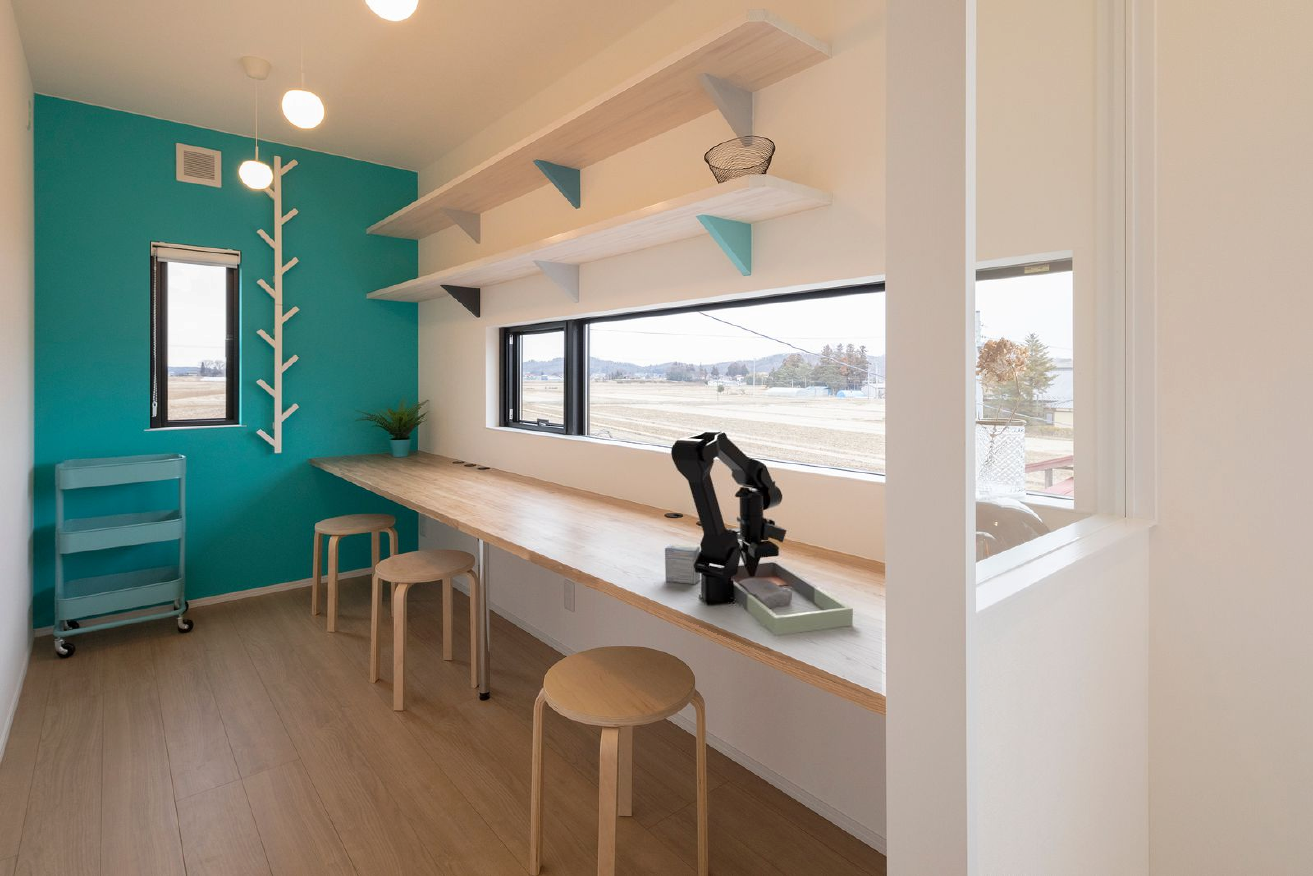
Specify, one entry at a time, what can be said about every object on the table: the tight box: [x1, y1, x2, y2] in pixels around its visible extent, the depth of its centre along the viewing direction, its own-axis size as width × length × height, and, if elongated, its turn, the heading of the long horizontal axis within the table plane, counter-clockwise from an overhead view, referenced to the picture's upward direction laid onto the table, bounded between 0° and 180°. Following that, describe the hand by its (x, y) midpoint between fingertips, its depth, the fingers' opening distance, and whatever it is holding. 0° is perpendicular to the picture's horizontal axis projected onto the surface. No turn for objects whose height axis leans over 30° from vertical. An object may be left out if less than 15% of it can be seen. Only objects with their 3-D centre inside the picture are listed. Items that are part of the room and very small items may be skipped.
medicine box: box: [664, 543, 701, 585], centre depth 164 cm, size 8×4×9 cm, turn 68°
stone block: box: [738, 578, 793, 610], centre depth 149 cm, size 12×5×10 cm
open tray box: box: [717, 560, 854, 636], centre depth 148 cm, size 17×36×4 cm, turn 15°
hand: (751, 576), depth 161 cm, fingers closed
